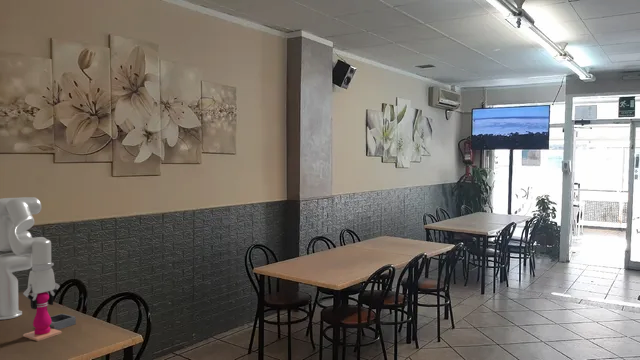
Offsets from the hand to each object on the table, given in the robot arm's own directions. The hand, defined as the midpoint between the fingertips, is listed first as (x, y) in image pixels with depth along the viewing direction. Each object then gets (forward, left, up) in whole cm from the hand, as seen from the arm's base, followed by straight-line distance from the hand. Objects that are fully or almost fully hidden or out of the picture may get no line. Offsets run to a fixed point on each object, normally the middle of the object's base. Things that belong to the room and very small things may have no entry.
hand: (42, 306), depth 216 cm
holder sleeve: (-6, +11, -13) cm, 18 cm away
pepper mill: (0, 0, -12) cm, 12 cm away
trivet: (0, 0, -13) cm, 13 cm away
